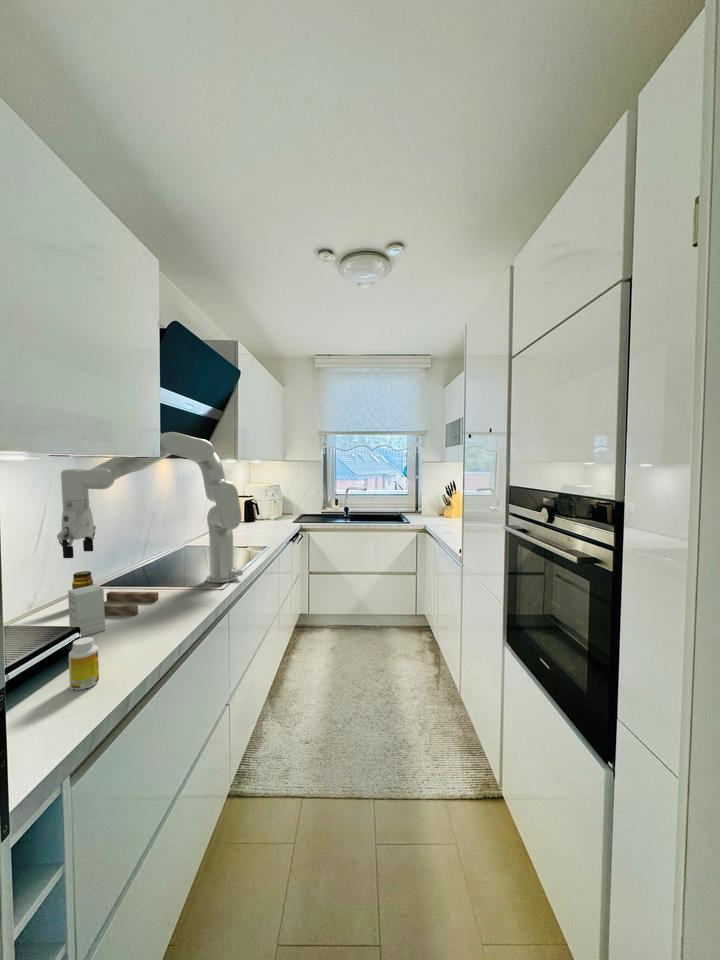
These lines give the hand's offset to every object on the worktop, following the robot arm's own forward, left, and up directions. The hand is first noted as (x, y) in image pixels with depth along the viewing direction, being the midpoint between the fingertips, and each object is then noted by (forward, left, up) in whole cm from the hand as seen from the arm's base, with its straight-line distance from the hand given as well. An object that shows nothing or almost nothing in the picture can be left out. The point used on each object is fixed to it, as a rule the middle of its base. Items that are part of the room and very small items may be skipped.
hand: (78, 554), depth 146 cm
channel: (-15, 0, -18) cm, 23 cm away
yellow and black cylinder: (-1, -1, -19) cm, 19 cm away
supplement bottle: (-37, +49, -19) cm, 64 cm away
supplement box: (-17, +20, -19) cm, 32 cm away
